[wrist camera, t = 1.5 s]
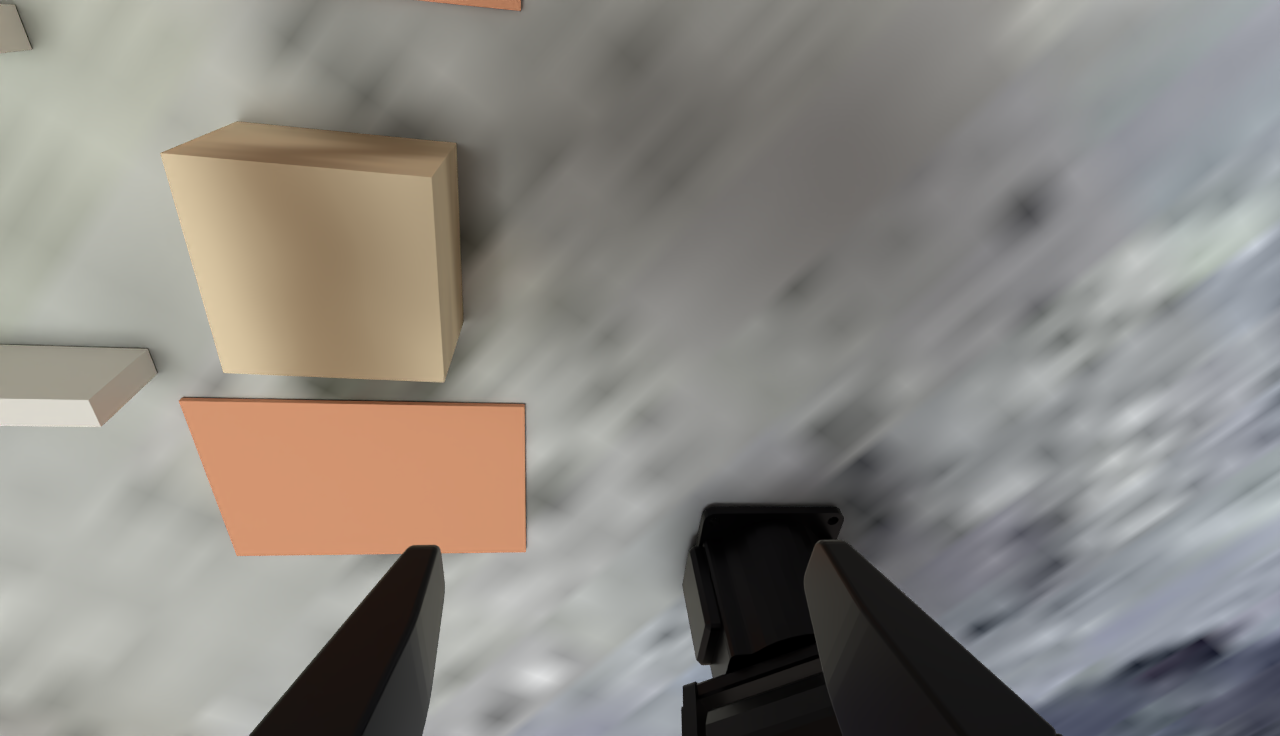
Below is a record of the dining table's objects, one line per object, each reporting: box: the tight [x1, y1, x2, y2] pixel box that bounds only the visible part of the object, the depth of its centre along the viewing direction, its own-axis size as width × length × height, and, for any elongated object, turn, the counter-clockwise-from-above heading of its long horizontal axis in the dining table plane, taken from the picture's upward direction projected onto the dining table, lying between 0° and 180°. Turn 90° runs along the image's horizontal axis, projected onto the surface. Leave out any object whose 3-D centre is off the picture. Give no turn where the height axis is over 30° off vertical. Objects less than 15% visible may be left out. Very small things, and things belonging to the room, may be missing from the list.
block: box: [160, 121, 463, 382], centre depth 18 cm, size 6×6×4 cm
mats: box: [179, 0, 526, 556], centre depth 19 cm, size 12×29×1 cm, turn 175°
